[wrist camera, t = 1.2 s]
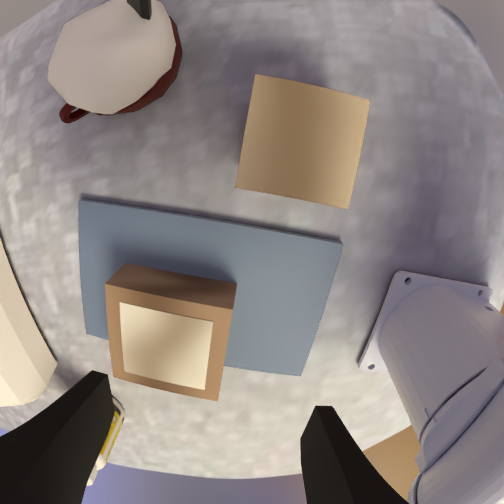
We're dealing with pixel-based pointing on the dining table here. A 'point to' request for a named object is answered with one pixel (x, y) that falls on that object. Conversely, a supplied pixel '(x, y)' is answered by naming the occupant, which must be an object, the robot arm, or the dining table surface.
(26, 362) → the crystal
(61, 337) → the dining table surface
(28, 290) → the dining table surface
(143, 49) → the cocoa
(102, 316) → the board
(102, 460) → the supplement bottle
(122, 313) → the walnut base block
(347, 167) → the maple block
